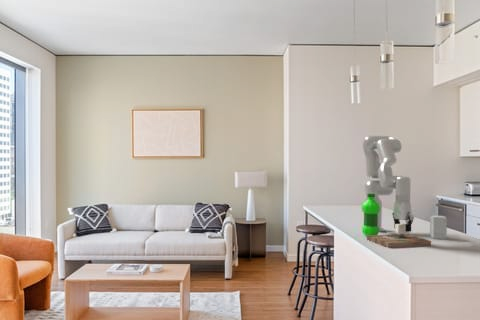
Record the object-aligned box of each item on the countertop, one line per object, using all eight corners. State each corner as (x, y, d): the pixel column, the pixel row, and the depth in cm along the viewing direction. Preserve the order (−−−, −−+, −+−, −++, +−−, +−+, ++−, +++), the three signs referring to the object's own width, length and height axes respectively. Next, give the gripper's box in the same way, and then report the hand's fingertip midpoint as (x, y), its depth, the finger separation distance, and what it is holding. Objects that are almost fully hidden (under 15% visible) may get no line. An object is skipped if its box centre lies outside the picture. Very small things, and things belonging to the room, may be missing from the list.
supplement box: (446, 239, 235) (447, 217, 235) (432, 238, 237) (433, 216, 236) (443, 237, 242) (443, 215, 242) (429, 236, 244) (430, 215, 244)
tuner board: (366, 239, 231) (366, 234, 231) (406, 238, 238) (406, 233, 237) (388, 247, 212) (388, 242, 212) (431, 245, 218) (431, 240, 218)
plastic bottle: (371, 234, 248) (372, 192, 248) (383, 237, 238) (384, 194, 238) (357, 235, 245) (358, 193, 245) (369, 238, 235) (369, 194, 235)
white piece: (385, 236, 226) (385, 224, 226) (405, 235, 230) (406, 223, 230) (388, 237, 224) (388, 225, 223) (409, 236, 227) (409, 224, 227)
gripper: (387, 197, 234) (387, 227, 234) (407, 200, 218) (406, 232, 218) (398, 197, 236) (398, 227, 236) (419, 200, 220) (418, 232, 220)
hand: (402, 229), depth 227 cm, fingers open, 9 cm apart
